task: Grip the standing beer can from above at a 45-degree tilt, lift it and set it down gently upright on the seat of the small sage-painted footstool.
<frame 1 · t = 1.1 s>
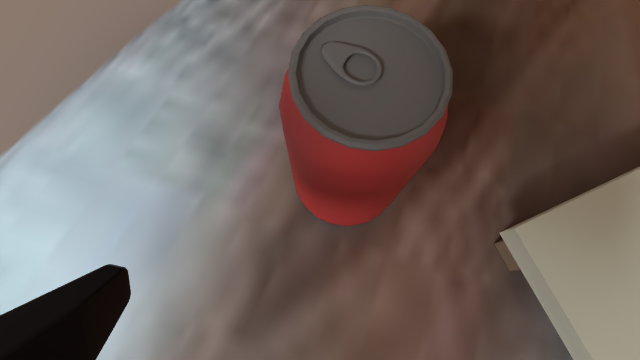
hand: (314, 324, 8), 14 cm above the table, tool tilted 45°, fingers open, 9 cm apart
beer can: (344, 178, 24), on the table
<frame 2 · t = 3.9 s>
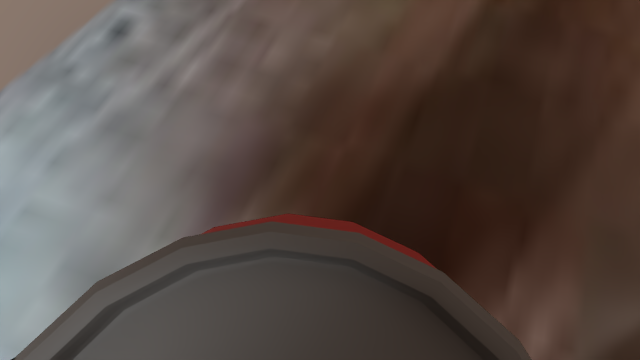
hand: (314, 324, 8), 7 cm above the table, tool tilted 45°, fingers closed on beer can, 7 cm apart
beer can: (308, 344, 14), on the table, touching gripper
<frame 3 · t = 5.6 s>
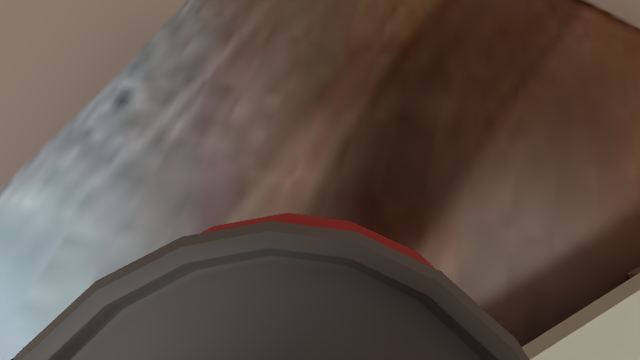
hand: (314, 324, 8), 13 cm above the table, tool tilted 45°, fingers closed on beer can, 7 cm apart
beer can: (307, 343, 14), point 6 cm above the table, touching gripper
when the fingers open (12 cm above the table, at t = 7.8 s): beer can stays where it is, resting on footstool.
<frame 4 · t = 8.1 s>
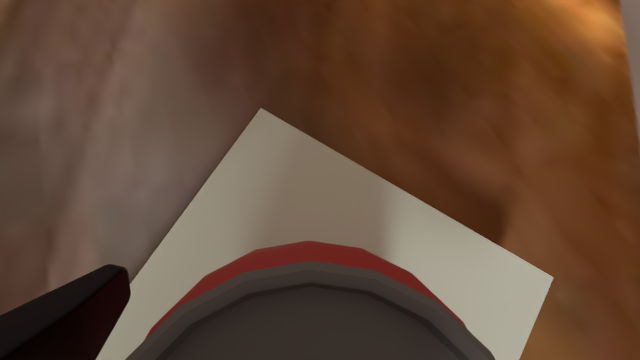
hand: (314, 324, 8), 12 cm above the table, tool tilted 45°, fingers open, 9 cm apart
beer can: (308, 343, 16), point 4 cm above the table, touching footstool
footstool: (310, 329, 19), on the table
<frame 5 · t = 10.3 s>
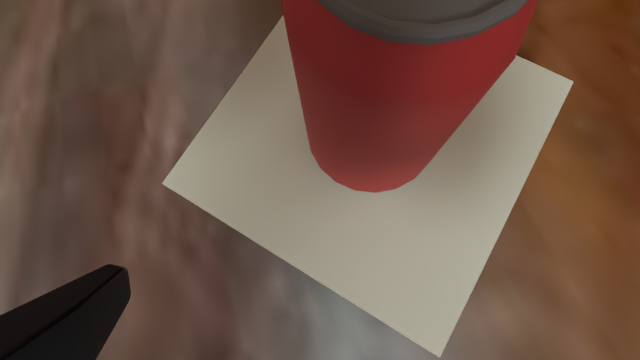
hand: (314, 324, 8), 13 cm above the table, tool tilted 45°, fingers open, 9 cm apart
beer can: (369, 136, 19), point 4 cm above the table, touching footstool
footstool: (364, 155, 23), on the table
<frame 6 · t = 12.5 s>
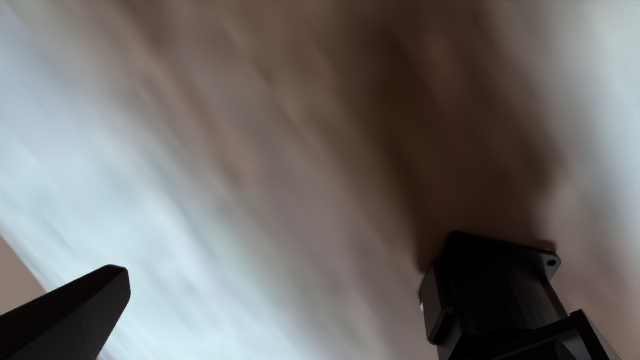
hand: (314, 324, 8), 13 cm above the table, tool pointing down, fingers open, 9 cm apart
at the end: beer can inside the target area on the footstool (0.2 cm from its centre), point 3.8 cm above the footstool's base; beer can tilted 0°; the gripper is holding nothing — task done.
